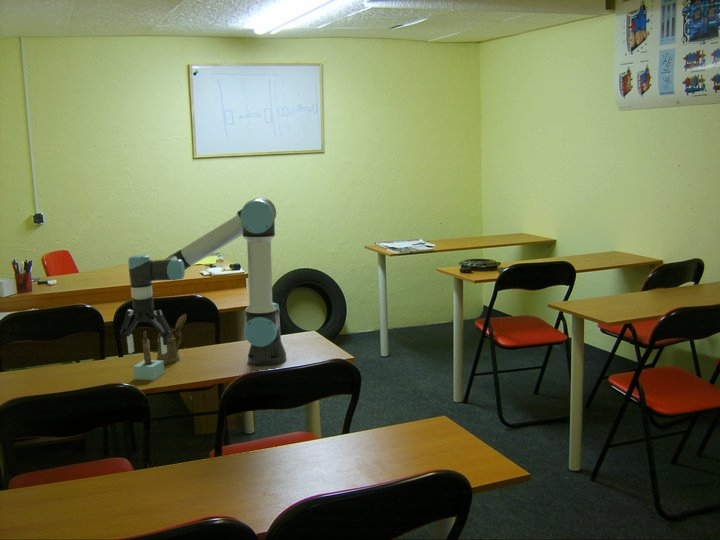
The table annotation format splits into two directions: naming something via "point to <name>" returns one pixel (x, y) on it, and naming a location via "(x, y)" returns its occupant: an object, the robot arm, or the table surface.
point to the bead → (149, 370)
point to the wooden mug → (172, 343)
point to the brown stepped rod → (146, 349)
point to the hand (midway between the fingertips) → (147, 352)
